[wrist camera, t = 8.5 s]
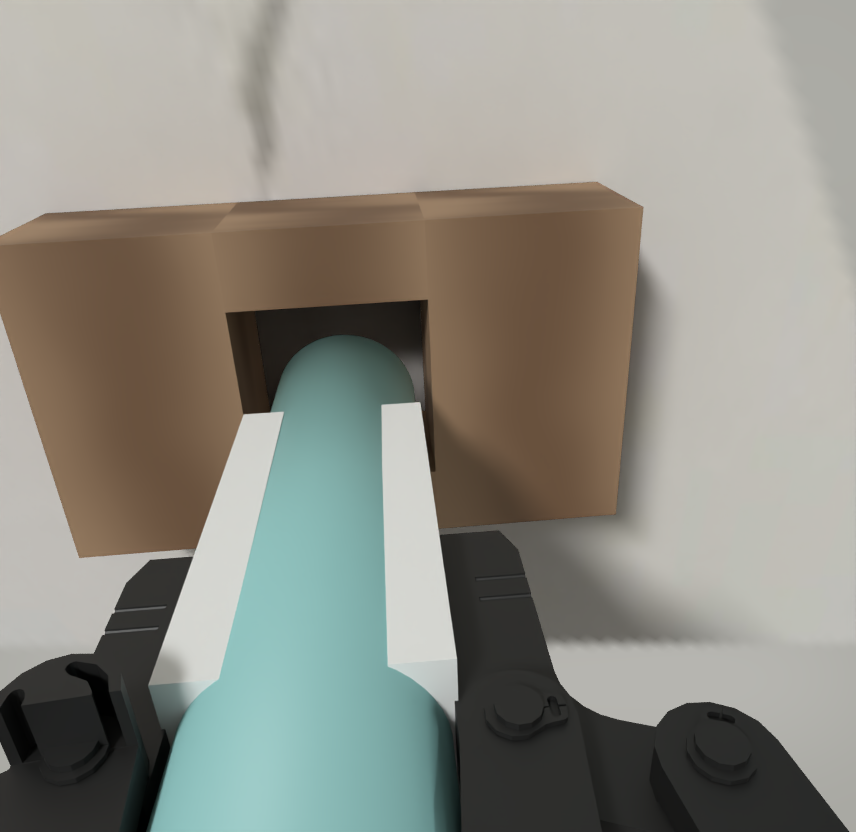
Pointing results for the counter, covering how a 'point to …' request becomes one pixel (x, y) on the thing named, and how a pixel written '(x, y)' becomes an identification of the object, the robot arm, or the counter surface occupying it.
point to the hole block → (312, 287)
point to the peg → (316, 639)
